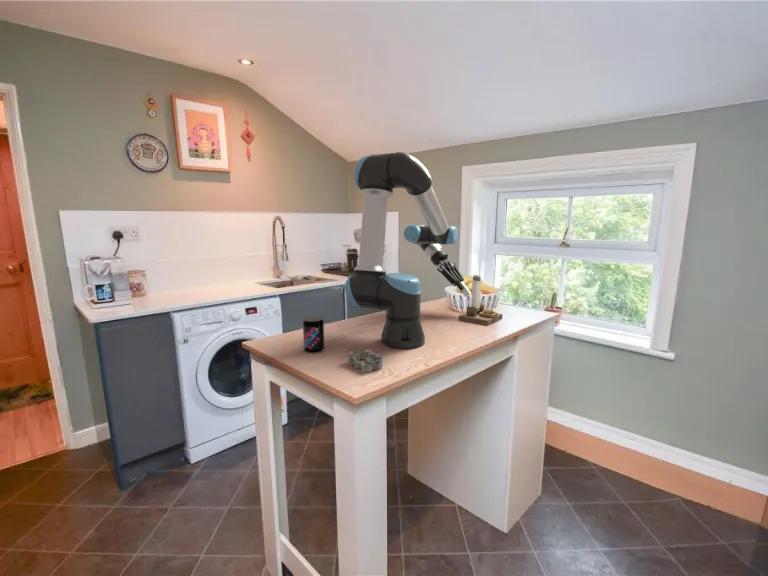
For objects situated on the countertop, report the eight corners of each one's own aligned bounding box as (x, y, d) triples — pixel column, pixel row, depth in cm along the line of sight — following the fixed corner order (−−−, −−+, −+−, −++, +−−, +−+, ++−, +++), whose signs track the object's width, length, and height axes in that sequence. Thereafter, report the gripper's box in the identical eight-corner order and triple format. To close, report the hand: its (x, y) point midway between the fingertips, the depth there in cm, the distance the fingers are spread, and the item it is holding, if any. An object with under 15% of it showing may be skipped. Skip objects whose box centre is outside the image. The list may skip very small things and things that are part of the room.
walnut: (490, 317, 154) (491, 309, 153) (482, 316, 156) (482, 307, 156) (494, 316, 157) (494, 307, 156) (486, 314, 159) (486, 306, 158)
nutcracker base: (487, 325, 150) (488, 312, 149) (458, 320, 158) (459, 307, 157) (502, 318, 160) (503, 306, 159) (474, 313, 169) (474, 301, 168)
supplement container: (300, 349, 123) (298, 318, 121) (318, 345, 127) (317, 315, 125) (309, 354, 118) (308, 322, 116) (328, 350, 122) (327, 319, 120)
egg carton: (345, 363, 111) (345, 350, 111) (367, 358, 115) (367, 345, 115) (363, 375, 103) (363, 360, 102) (386, 369, 107) (386, 355, 106)
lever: (476, 314, 158) (477, 275, 155) (469, 313, 160) (470, 274, 157) (481, 312, 161) (483, 274, 158) (474, 311, 163) (476, 273, 160)
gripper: (439, 258, 176) (470, 298, 169) (423, 260, 167) (455, 302, 159) (449, 247, 172) (481, 287, 164) (433, 249, 162) (467, 292, 155)
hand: (468, 295), depth 162 cm, fingers closed
